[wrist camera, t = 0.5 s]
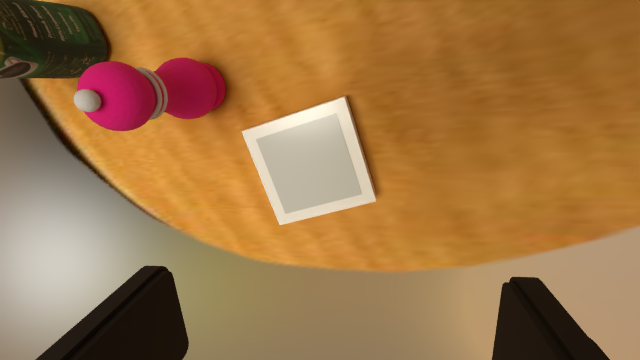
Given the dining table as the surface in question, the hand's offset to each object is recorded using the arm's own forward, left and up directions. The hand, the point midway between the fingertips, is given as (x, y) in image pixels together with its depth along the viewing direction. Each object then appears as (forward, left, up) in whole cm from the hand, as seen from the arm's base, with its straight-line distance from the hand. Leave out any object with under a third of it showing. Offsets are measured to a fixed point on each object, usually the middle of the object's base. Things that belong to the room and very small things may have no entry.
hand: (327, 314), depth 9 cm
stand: (+3, -8, -35) cm, 36 cm away
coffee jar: (-22, -34, -35) cm, 53 cm away
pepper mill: (-11, -19, -35) cm, 41 cm away
